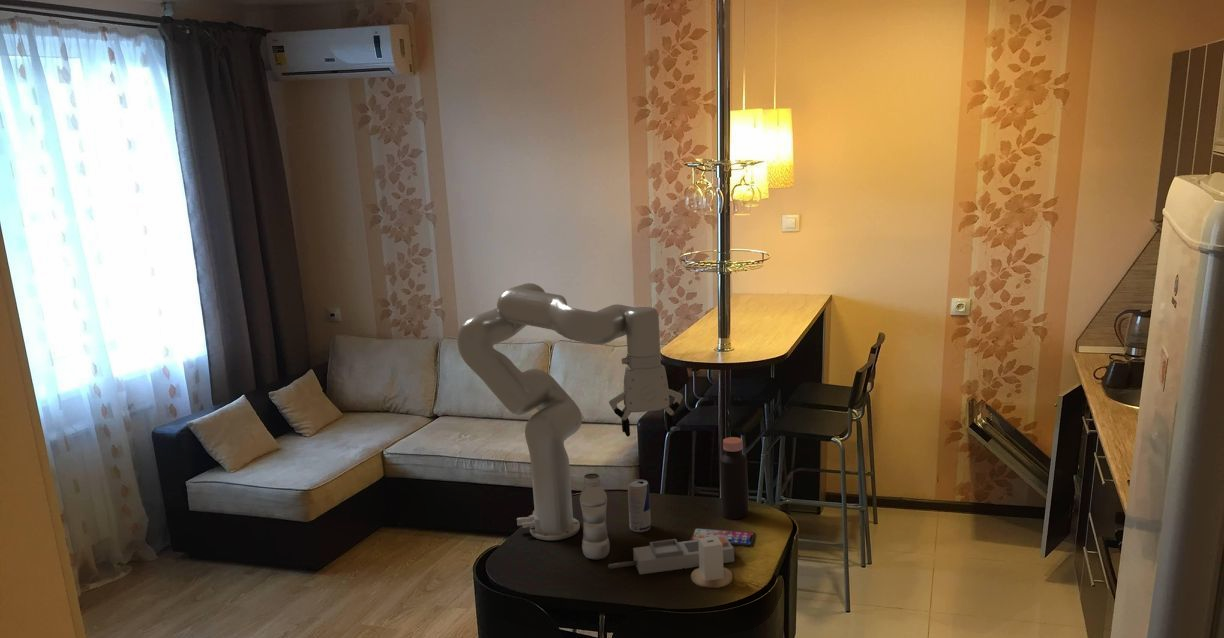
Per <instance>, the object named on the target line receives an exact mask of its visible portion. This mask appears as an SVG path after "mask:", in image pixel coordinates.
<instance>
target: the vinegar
mask: <svg viewBox="0 0 1224 638" xmlns="http://www.w3.org/2000/svg"><path fill="white" fill-rule="evenodd" d="M722 447H723V452H724V454H723V455H721V456H720V459H719V472H720V473H719V475H720V476H719V477H720V506H721V507H720V509H721V510H720V511H721V515H722V516H723V518H725V519H729V520H742V519H744V518H746V517H747V516H748V515H749V499H748V498H749V497H748V492H749V491H748V490H749V489H748V460H747V457H746V456H745V455H744V454H743V448H744V445H743V439H742V438H741V437H737V436H730V437H725V438H723V440H722Z"/></svg>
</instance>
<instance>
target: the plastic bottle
mask: <svg viewBox="0 0 1224 638" xmlns="http://www.w3.org/2000/svg"><path fill="white" fill-rule="evenodd" d="M583 485H584V487H583V489H582V490H581V492H580V494H579V505H580V509H581V515H582V524H583V531H582V532H583V533H582V540H581V541H582V542H581V549H582V553H583V555H584V556H585V558H587V559H589V560H595V561H596V560H602V559H605V558H606V557H607V556H608V555H609V553H610V549H611V543H610V539H609V536H608V529H607V507H608V506H607V505H608V496H607V493H606V491H605V490H604V488H603V487H602V486H601V477H600V474H599V473H596V472H595V473H593V472H591V473H590V472H589V473H586V474H585V475H584V476H583Z"/></svg>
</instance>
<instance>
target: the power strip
mask: <svg viewBox="0 0 1224 638" xmlns="http://www.w3.org/2000/svg"><path fill="white" fill-rule="evenodd" d="M718 539H719V540H720V541H721V543H722V544H723V564H727V563H733V562H735V548H734V546H732V545H731V544H730V542H729V541H728V539H727V538H726V537H725V536H721V537H718ZM632 551H633V552H632V553H633V560H628V561H621V562H615V563H609V564H608V565H607V567H608V568H609V569H617V568H624V567H625V568H626V567H630V566H631V567H632V566H635V567H636V569H637V571H638V573H639V574H638V575H645V574H654V573H659V572H660V573H661V572H668V571H675V570H676V571H677V570H682V569H683V568H684V569H691V568H696V567H697V568H699V544H698V540H691V541H690V540H685V541H684V540H683V541H678V540H677V539H676V538H672V539H663V540H656V541H650V542H649V545H645V546H639V547H638V546H637V547H633V548H632Z"/></svg>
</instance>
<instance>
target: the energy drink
mask: <svg viewBox="0 0 1224 638" xmlns="http://www.w3.org/2000/svg"><path fill="white" fill-rule="evenodd" d="M650 498H651V497H650V484H649V481H648V480H645V479H641V478H640V479H637V478H636V479H632V480H630V481H628V484H627V502H628V504H627V505H628V519H629V520H628V522H629V529H630V531H632V532H634V533H645V531H646V532H648V531H650V530H651V528H652V519H651V518H652V517H651V499H650Z"/></svg>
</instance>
